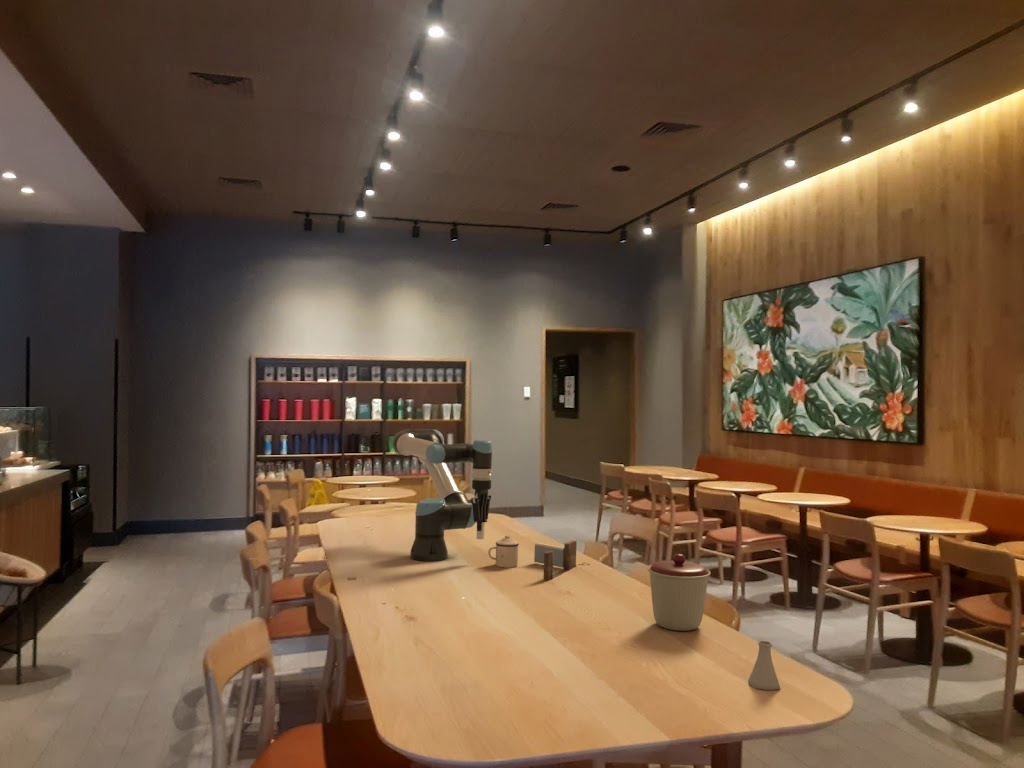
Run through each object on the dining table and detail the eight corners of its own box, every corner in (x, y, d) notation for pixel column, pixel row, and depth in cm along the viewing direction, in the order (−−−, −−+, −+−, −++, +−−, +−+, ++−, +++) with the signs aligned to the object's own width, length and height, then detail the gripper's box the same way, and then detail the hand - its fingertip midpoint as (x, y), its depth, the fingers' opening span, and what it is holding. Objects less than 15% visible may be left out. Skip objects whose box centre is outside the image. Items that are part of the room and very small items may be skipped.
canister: (673, 638, 211) (674, 562, 212) (633, 621, 227) (635, 550, 228) (722, 631, 220) (724, 557, 220) (681, 614, 236) (682, 546, 236)
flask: (743, 679, 182) (744, 637, 182) (772, 679, 182) (773, 637, 182) (755, 691, 175) (756, 647, 175) (785, 691, 175) (786, 647, 175)
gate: (564, 567, 295) (565, 547, 295) (562, 567, 294) (563, 548, 294) (536, 561, 304) (536, 542, 304) (534, 561, 303) (534, 542, 303)
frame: (542, 580, 275) (543, 552, 276) (570, 565, 300) (571, 540, 300) (549, 580, 274) (549, 553, 274) (576, 566, 299) (577, 541, 299)
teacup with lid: (515, 562, 303) (516, 533, 303) (520, 567, 294) (521, 537, 295) (485, 563, 300) (486, 533, 301) (490, 568, 292) (491, 538, 292)
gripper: (482, 481, 295) (481, 542, 294) (497, 478, 307) (496, 537, 306) (465, 479, 298) (464, 540, 298) (481, 477, 310) (479, 535, 309)
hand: (480, 538), depth 302 cm, fingers closed
